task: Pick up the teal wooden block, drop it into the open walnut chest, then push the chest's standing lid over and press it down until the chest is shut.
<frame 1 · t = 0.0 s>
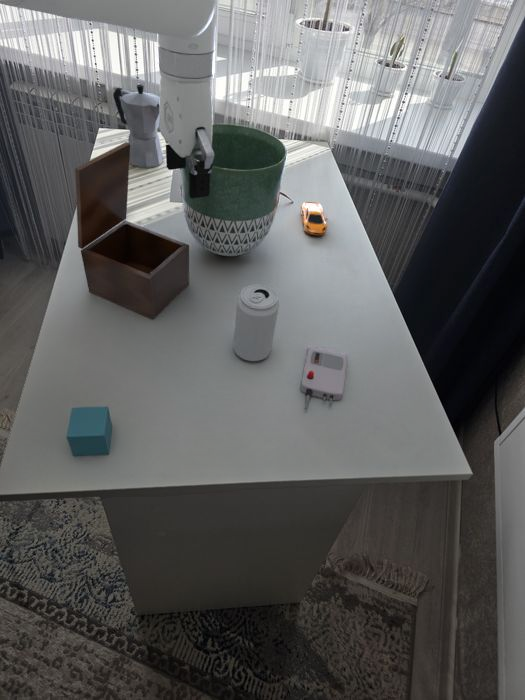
hand: (187, 181, 75), 20 cm above the table, tool pointing down, fingers open, 9 cm apart
chest: (140, 288, 87), on the table
lid: (103, 196, 76), point 17 cm above the table, hinge at 80.0°
planter: (226, 247, 99), on the table
block: (93, 440, 64), on the table
toy car: (312, 224, 109), on the table
white electronic control box: (322, 378, 76), on the table
coffeepot: (142, 159, 123), on the table
beverage can: (251, 350, 79), on the table
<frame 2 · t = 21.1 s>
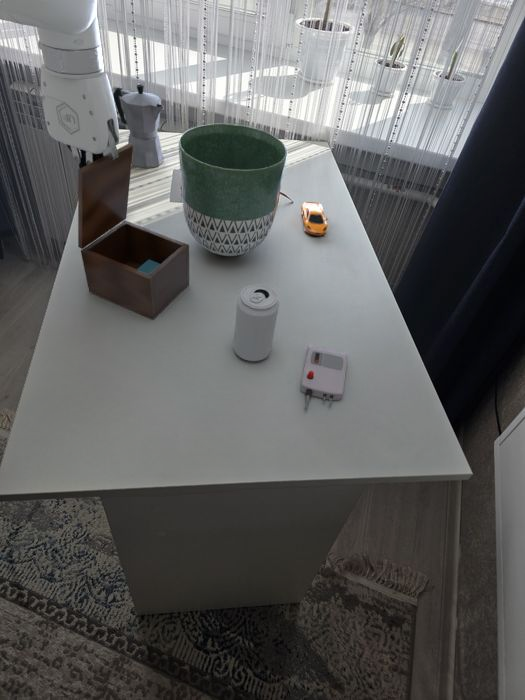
hand: (93, 186, 76), 18 cm above the table, tool pointing down, fingers closed
lid: (105, 197, 76), point 16 cm above the table, hinge at 77.9°, touching gripper
block: (153, 290, 85), point 1 cm above the table, touching chest
everything else where it was.
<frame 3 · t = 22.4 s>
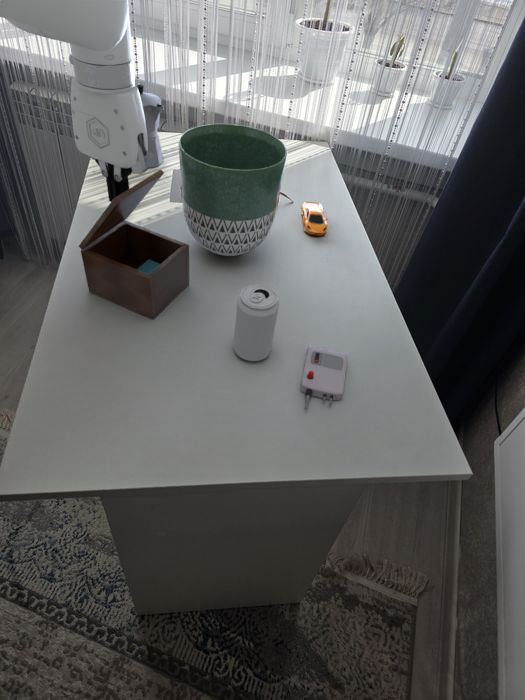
hand: (119, 199, 75), 17 cm above the table, tool pointing down, fingers closed
lid: (120, 210, 76), point 15 cm above the table, hinge at 52.7°
everything else where it was.
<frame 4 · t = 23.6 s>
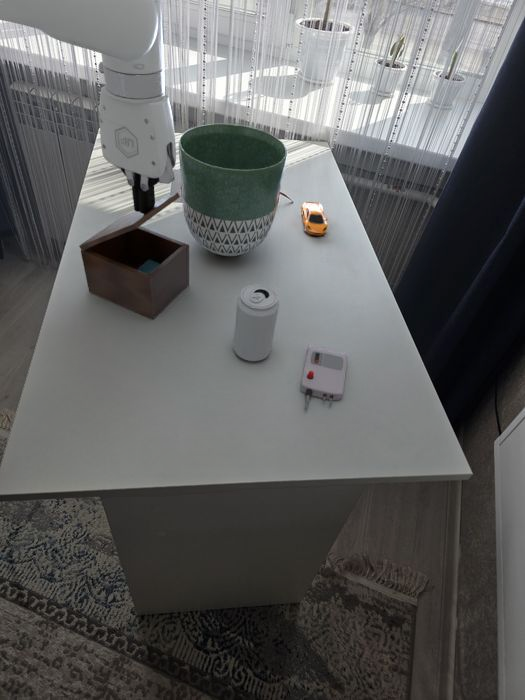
hand: (144, 208, 74), 17 cm above the table, tool pointing down, fingers closed
lid: (129, 221, 77), point 14 cm above the table, hinge at 35.6°, touching gripper
everything else where it was.
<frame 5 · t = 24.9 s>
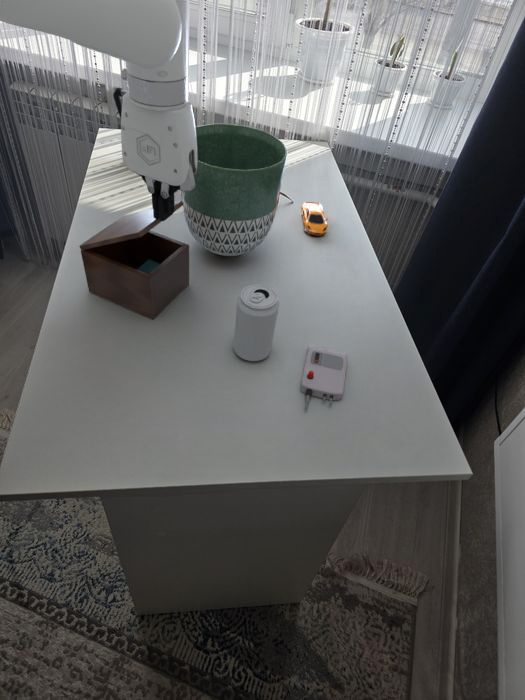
hand: (163, 215, 73), 17 cm above the table, tool pointing down, fingers closed
lid: (131, 225, 77), point 13 cm above the table, hinge at 30.3°
everything else where it was.
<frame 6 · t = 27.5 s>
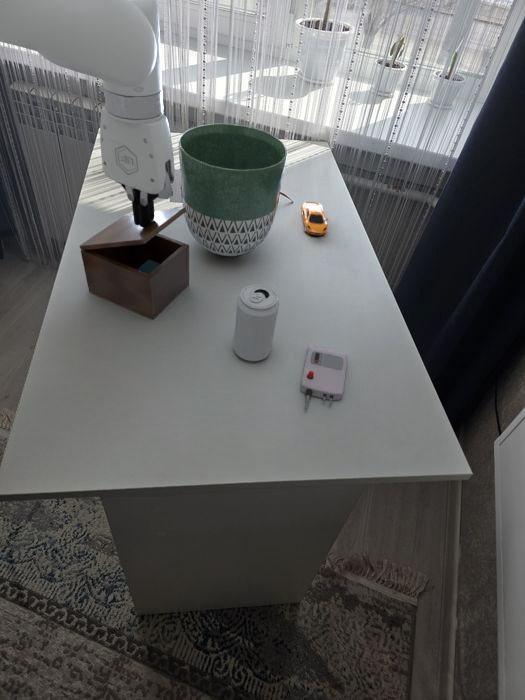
hand: (144, 222, 76), 15 cm above the table, tool pointing down, fingers closed
lid: (133, 228, 78), point 13 cm above the table, hinge at 25.7°
everything else where it was.
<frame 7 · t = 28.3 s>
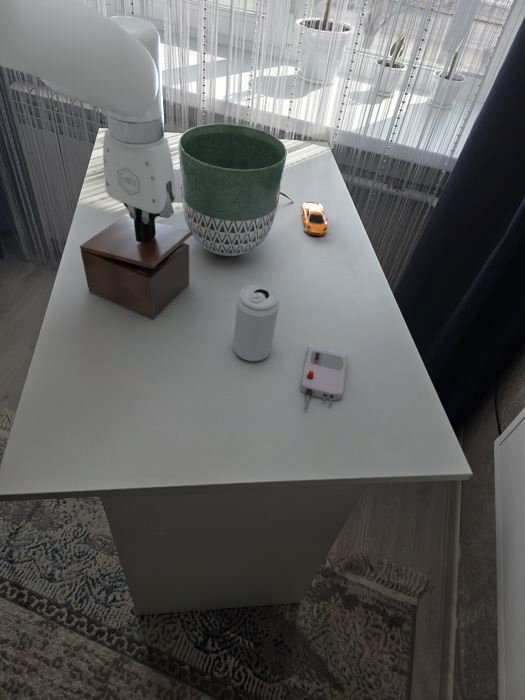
hand: (145, 238, 78), 11 cm above the table, tool pointing down, fingers closed
lid: (137, 240, 79), point 10 cm above the table, hinge at 9.0°, touching gripper
everything else where it was.
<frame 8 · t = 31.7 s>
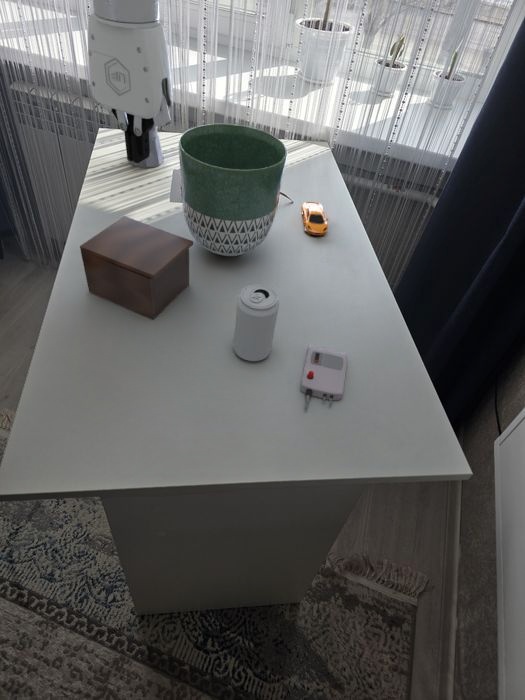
hand: (138, 158, 68), 25 cm above the table, tool pointing down, fingers closed
lid: (138, 245, 80), point 9 cm above the table, hinge at 0.9°
everything else where it was.
at the end: block inside the target area in the chest (3.0 cm from its centre), point 0.9 cm above the chest's base; lid at +1° (first picture: +80°) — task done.
